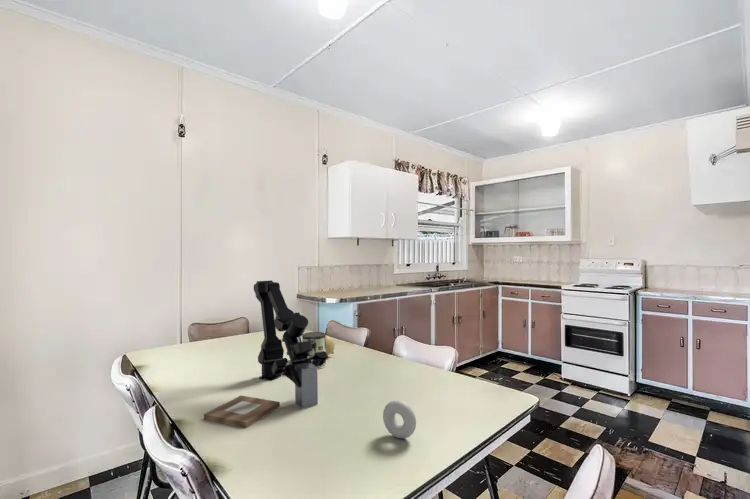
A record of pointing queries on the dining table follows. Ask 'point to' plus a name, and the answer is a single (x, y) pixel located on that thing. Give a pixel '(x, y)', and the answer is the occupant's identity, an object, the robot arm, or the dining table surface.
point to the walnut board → (242, 411)
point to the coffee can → (320, 343)
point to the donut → (406, 414)
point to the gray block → (306, 385)
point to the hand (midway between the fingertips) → (308, 385)
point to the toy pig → (329, 345)
